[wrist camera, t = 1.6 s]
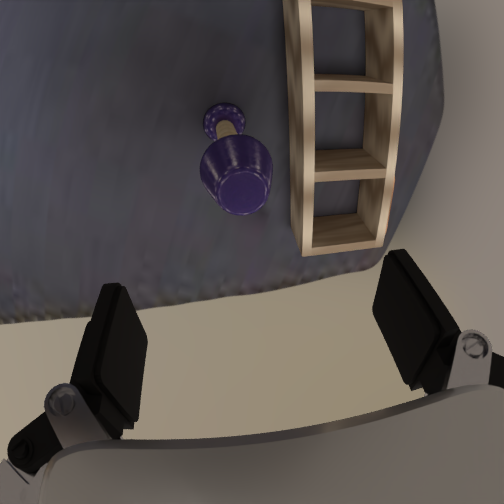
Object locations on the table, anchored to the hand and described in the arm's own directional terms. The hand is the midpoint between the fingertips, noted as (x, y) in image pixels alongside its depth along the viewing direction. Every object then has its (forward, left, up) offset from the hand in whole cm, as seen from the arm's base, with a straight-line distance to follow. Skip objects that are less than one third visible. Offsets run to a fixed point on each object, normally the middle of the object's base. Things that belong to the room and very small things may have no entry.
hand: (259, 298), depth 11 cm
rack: (0, +11, -24) cm, 27 cm away
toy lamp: (0, 0, -24) cm, 24 cm away
